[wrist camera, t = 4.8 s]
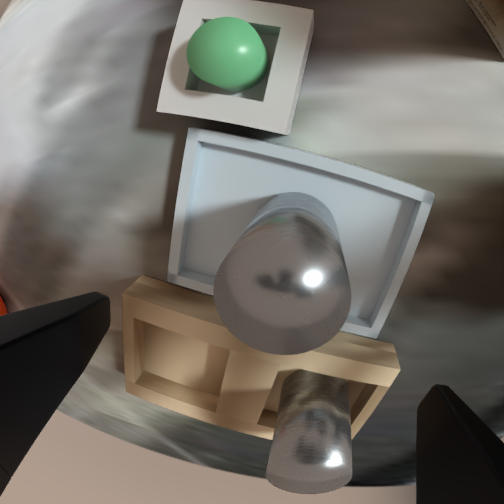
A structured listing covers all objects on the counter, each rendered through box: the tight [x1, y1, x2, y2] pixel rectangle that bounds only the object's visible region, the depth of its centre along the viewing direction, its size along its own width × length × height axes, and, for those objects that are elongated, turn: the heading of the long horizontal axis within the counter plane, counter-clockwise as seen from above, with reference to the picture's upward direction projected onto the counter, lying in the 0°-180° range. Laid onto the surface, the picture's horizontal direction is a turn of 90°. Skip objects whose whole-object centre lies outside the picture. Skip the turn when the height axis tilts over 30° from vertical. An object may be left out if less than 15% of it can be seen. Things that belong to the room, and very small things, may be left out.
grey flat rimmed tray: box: [167, 127, 435, 338], centre depth 17 cm, size 13×9×1 cm
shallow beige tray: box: [122, 275, 401, 440], centre depth 20 cm, size 17×9×3 cm, turn 78°
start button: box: [186, 17, 269, 92], centre depth 12 cm, size 3×3×2 cm
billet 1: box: [213, 192, 351, 355], centre depth 14 cm, size 5×5×7 cm
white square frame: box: [156, 0, 314, 135], centre depth 13 cm, size 6×6×3 cm
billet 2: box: [266, 369, 352, 494], centre depth 17 cm, size 5×5×7 cm
